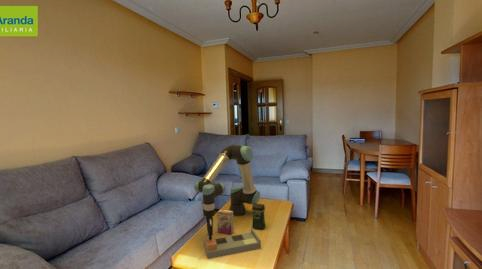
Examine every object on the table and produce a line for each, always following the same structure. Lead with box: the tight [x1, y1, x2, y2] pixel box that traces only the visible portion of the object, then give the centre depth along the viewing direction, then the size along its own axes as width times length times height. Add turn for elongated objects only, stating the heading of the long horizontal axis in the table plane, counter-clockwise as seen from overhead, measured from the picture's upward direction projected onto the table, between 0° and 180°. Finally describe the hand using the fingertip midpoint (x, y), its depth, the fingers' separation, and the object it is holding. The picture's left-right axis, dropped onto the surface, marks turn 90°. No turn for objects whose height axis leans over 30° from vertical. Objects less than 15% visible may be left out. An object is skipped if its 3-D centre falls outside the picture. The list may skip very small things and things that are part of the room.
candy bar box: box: [216, 208, 235, 235], centre depth 180 cm, size 11×5×16 cm, turn 71°
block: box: [205, 238, 217, 251], centre depth 155 cm, size 6×6×4 cm
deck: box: [203, 227, 262, 260], centre depth 162 cm, size 17×35×6 cm, turn 107°
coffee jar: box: [251, 203, 266, 230], centre depth 186 cm, size 10×8×19 cm
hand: (210, 243), depth 159 cm, fingers closed
